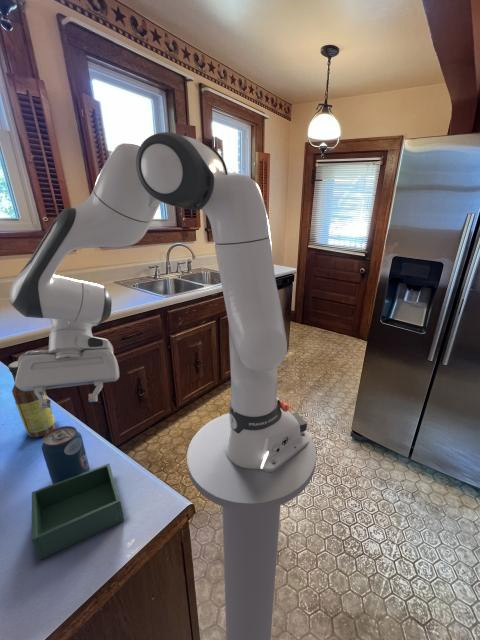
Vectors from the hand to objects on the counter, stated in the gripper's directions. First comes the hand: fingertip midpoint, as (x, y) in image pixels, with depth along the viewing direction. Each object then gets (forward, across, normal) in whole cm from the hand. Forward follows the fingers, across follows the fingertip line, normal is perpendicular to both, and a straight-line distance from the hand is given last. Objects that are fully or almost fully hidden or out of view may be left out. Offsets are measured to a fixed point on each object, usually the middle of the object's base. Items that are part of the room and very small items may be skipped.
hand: (69, 404), depth 70 cm
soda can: (+16, 0, +4) cm, 16 cm away
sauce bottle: (+2, -11, +18) cm, 21 cm away
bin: (+23, +4, -4) cm, 24 cm away
